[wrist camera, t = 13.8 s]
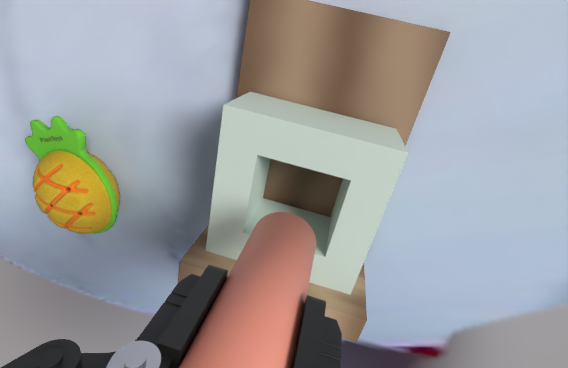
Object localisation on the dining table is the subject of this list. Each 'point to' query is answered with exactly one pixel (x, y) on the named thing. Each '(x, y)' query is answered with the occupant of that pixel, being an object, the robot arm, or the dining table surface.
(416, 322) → the dining table surface
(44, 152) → the toy pineapple
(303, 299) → the dowel
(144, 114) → the dining table surface
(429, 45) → the jig
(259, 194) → the block
